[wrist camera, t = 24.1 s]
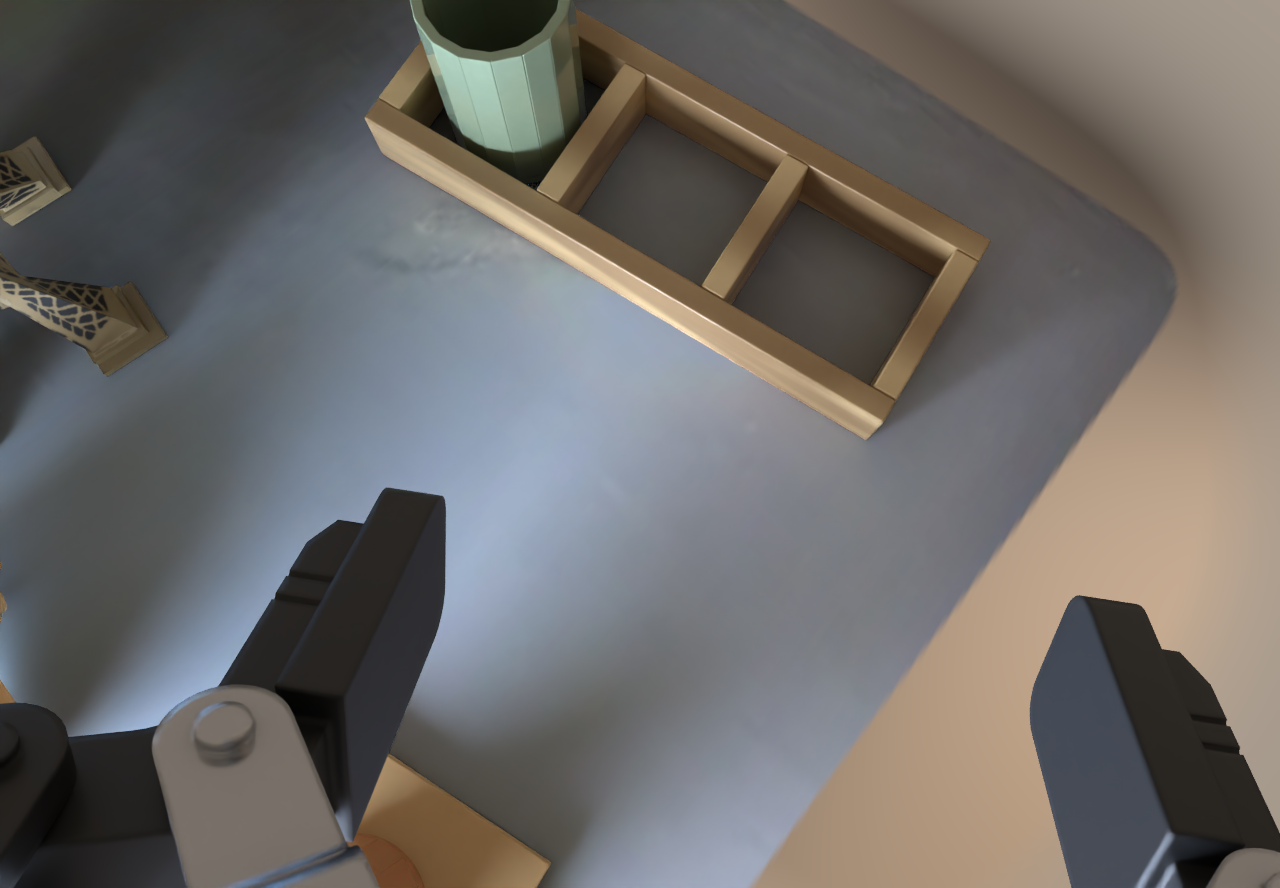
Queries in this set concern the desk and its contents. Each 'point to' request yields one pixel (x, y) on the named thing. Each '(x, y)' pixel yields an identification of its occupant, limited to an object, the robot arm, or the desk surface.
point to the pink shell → (3, 695)
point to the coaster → (446, 835)
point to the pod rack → (707, 310)
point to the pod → (507, 77)
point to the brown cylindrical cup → (388, 862)
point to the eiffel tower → (78, 312)
